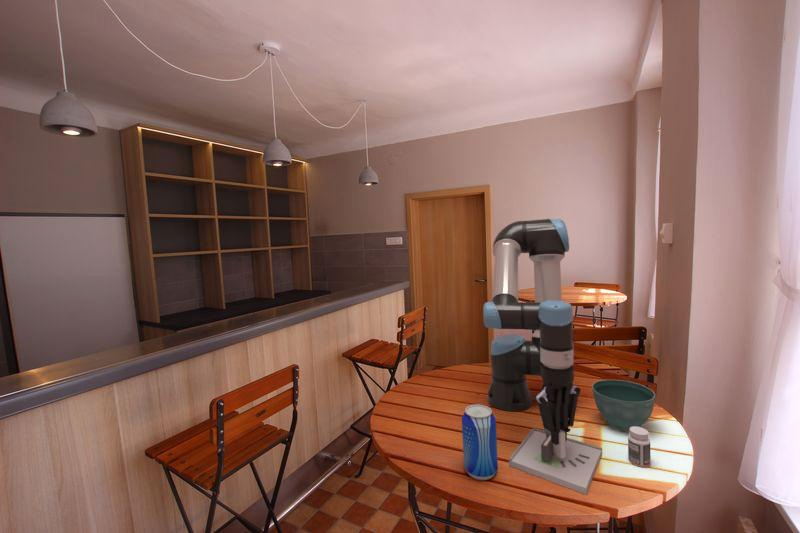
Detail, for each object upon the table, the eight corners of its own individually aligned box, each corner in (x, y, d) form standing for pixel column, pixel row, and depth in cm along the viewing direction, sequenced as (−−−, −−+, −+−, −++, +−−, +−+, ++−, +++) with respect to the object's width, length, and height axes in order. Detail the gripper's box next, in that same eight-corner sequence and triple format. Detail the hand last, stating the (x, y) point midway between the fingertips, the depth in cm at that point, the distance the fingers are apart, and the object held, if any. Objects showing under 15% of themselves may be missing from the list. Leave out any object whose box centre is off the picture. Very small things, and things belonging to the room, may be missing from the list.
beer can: (460, 462, 94) (457, 404, 93) (491, 459, 95) (489, 401, 94) (469, 484, 86) (466, 420, 85) (502, 480, 87) (500, 417, 85)
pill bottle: (647, 457, 92) (647, 426, 91) (653, 469, 88) (653, 436, 87) (625, 454, 94) (625, 424, 93) (631, 466, 89) (630, 434, 89)
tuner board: (509, 465, 92) (508, 458, 92) (533, 433, 106) (533, 427, 106) (586, 494, 80) (585, 486, 80) (602, 454, 94) (601, 447, 94)
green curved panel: (532, 459, 91) (532, 459, 91) (543, 443, 98) (543, 442, 98) (581, 476, 84) (581, 475, 84) (589, 457, 91) (589, 456, 91)
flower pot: (581, 421, 111) (580, 387, 110) (611, 406, 119) (611, 375, 118) (636, 445, 97) (636, 407, 96) (666, 427, 105) (666, 392, 104)
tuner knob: (547, 438, 100) (547, 421, 100) (570, 445, 96) (569, 427, 96) (533, 458, 91) (533, 440, 91) (557, 467, 88) (556, 447, 87)
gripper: (547, 373, 82) (549, 470, 84) (589, 364, 87) (591, 456, 89) (525, 363, 89) (528, 453, 91) (565, 355, 94) (567, 440, 96)
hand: (559, 454), depth 90 cm, fingers closed
